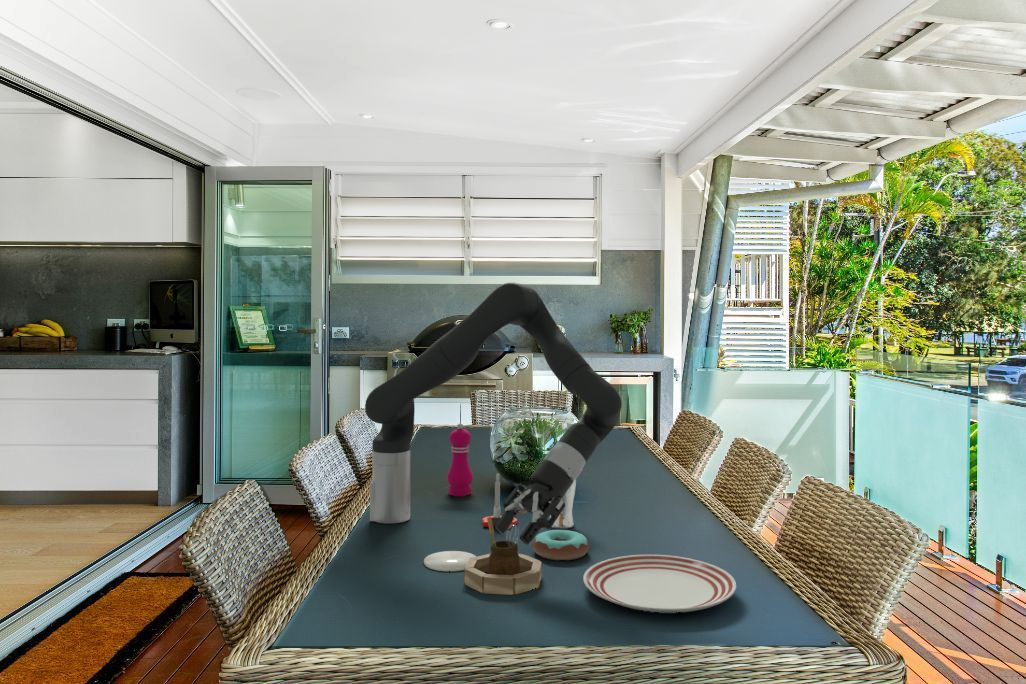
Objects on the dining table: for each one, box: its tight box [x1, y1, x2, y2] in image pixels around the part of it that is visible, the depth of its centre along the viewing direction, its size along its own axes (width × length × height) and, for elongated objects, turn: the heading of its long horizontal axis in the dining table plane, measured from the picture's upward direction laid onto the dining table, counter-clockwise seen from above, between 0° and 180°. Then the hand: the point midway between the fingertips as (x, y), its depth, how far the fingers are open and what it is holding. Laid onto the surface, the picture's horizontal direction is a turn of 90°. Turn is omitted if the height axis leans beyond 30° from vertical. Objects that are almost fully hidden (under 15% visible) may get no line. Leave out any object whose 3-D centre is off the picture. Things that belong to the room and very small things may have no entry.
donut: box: [532, 529, 590, 561], centre depth 162 cm, size 12×12×4 cm
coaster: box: [423, 550, 478, 572], centre depth 155 cm, size 11×11×1 cm
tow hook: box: [482, 473, 518, 529], centre depth 184 cm, size 8×13×9 cm
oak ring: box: [463, 552, 543, 596], centre depth 145 cm, size 14×14×3 cm
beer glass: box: [549, 478, 577, 530], centre depth 182 cm, size 7×7×15 cm
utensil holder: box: [487, 515, 521, 575], centre depth 145 cm, size 6×6×12 cm
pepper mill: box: [446, 423, 474, 497], centre depth 214 cm, size 7×7×20 cm
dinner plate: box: [582, 554, 737, 614], centre depth 139 cm, size 28×27×3 cm
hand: (510, 535), depth 146 cm, fingers open, 8 cm apart
